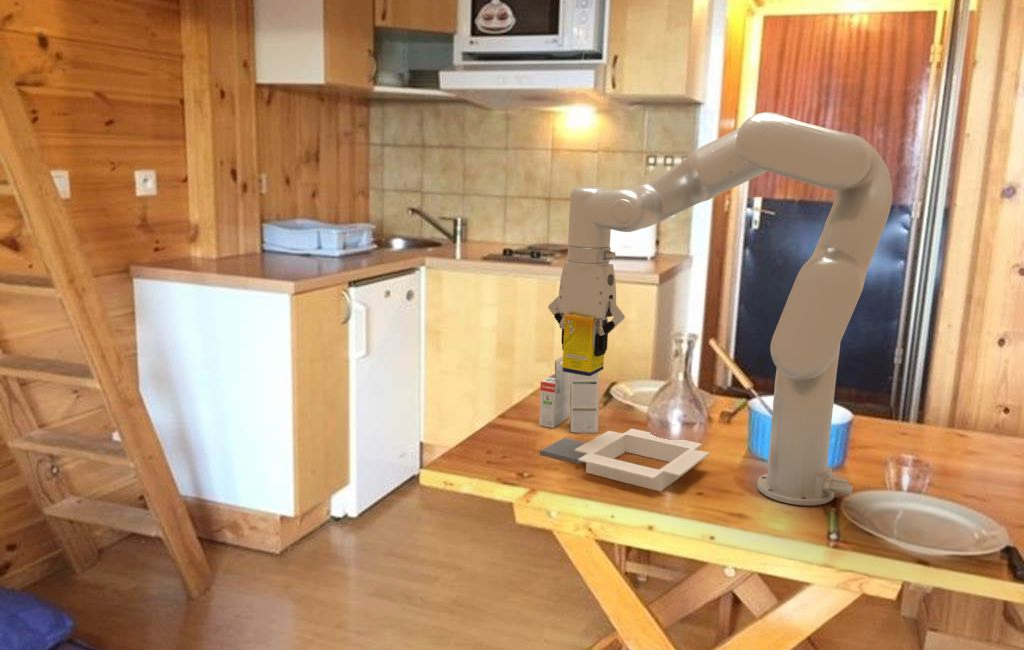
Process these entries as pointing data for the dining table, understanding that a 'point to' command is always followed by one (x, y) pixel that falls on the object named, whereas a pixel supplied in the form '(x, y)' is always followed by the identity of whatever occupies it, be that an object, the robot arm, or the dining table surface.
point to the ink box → (555, 397)
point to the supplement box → (580, 346)
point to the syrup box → (584, 403)
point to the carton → (644, 444)
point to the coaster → (564, 450)
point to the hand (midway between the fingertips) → (583, 351)
